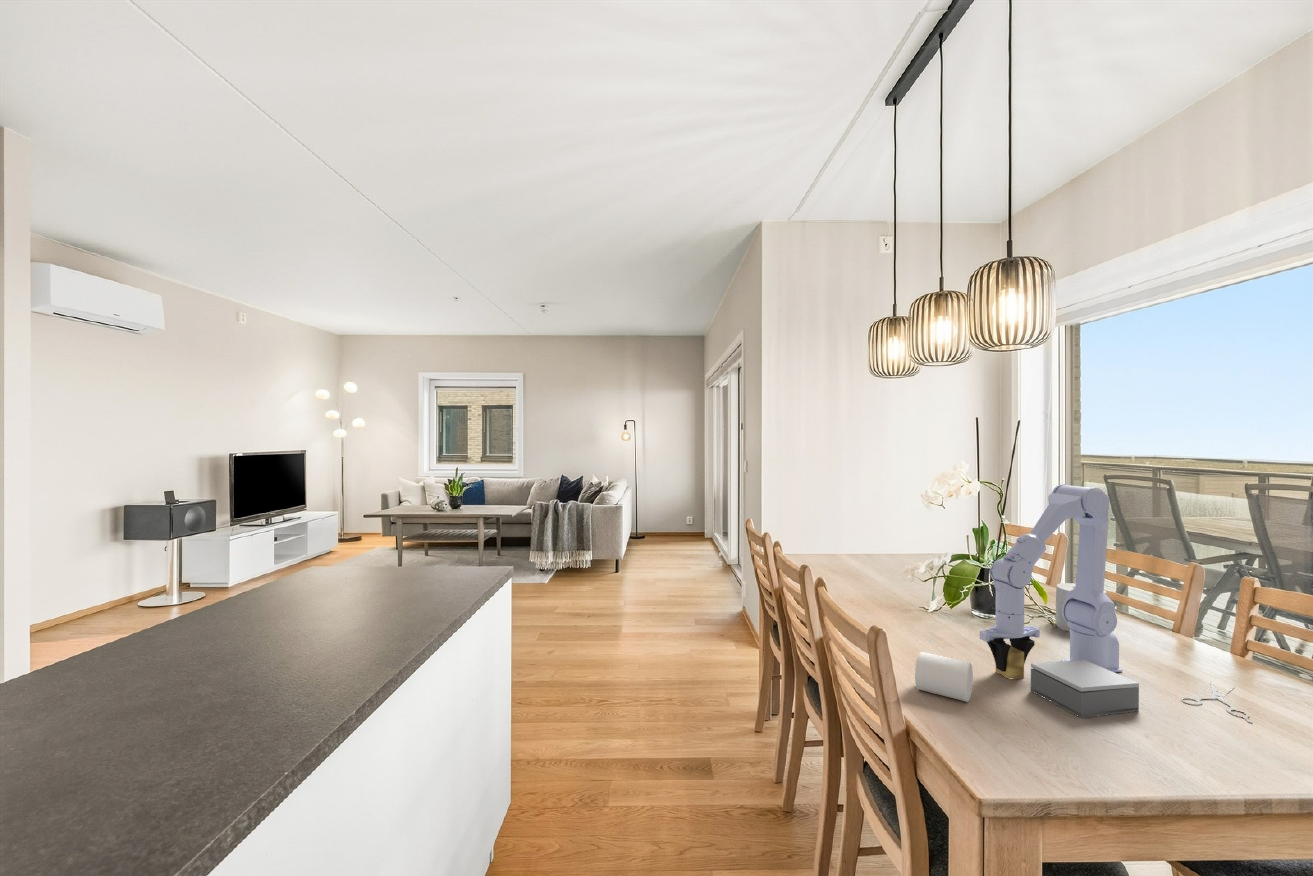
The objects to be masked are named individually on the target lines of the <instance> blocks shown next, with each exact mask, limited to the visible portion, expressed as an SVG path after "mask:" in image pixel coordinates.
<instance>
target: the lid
mask: <svg viewBox="0 0 1313 876" xmlns="http://www.w3.org/2000/svg"><path fill="white" fill-rule="evenodd" d="M1030 667H1031V668H1034V669H1036V670H1038V671H1040V672H1042V673H1044V674H1046V675H1048V676H1050V677H1052V678H1054V679H1056V680H1058V681H1060V682H1062V683H1064V684H1067V685H1069V686H1071V687H1073V688H1075V689H1077V690H1079V691H1081V692H1083V691H1095V690H1108V689H1120V688H1133V687H1139V688H1140V682H1137V681H1135V680H1133V679H1131V678H1128V677H1125V675H1124V676H1123V675H1120V674H1118V672H1112V671H1109V670H1107V669H1105V668H1102V667H1100V666H1098V665H1095V664H1093V663H1091V662H1088V661H1086V660H1074V661H1061V660H1060V661H1047V662H1034V663H1033V662H1031V663H1030Z"/></svg>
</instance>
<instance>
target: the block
mask: <svg viewBox="0 0 1313 876" xmlns="http://www.w3.org/2000/svg"><path fill="white" fill-rule="evenodd" d="M996 672H997V673H996ZM995 673H996V674H998V673H1000V674H1002V675H1003V676H1004V678H1005V677H1006V678H1005V679H1007V678H1019V679H1025V664H1024V652H1022V651H1020V650H1018V649H1016V648H1014V647H1012V646H1011V647H1010V649H1009V652H1008V656H1007V668H1006V672H1003V671H1001V670H999V669H997V667H996V666H995ZM1000 674H999V675H1000ZM1002 675H1001V676H1002ZM1003 676H1002V677H1003Z"/></svg>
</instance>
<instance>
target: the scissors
mask: <svg viewBox="0 0 1313 876" xmlns="http://www.w3.org/2000/svg"><path fill="white" fill-rule="evenodd" d="M1209 683H1210V688H1211V692H1212V691H1213V692H1212V694H1211V695H1209V696H1206V697H1199V698H1194V697H1184V696H1183V697H1181V698H1180V701H1181V700H1182V701H1183V702H1185V703H1184V704H1186V703H1187V705H1189V704H1190V706H1195V705H1198V706H1202V705H1203V702H1202V701H1203V700H1202V699H1213V700H1212V701H1218V700H1220V701H1222V702H1224V703H1225V704H1224V703H1223V704H1224V705H1226V704H1227V705H1229V706H1230V707H1229V706H1228V707H1229V708H1226V709H1225V711H1226V710H1227V711H1228V712H1229V713H1228V712H1227V711H1226V712H1227V713H1228V714H1230V713H1231V714H1230V715H1232V714H1235V712H1234V711H1231V710H1240V709H1238V708H1236V707H1234V706H1233V704H1231V703H1228V702H1226V701H1225V699H1224V697H1225V696H1227V695H1228V694H1226V695H1224V694H1222V696H1224V697H1223V698H1222V697H1220V696H1221V694H1219V693H1220V692H1219V691H1218V689H1217V688H1216V687H1215V685H1214V684H1213V683H1212V681H1211V680H1210V682H1209ZM1230 689H1231V688H1230ZM1231 690H1232V689H1231ZM1214 691H1218V692H1217V693H1216V692H1214ZM1232 691H1233V690H1232ZM1183 699H1184V700H1183ZM1188 699H1191V701H1194V700H1201V701H1199V702H1198V701H1197V702H1194V703H1193V702H1188V701H1185V700H1188ZM1182 701H1181V702H1182ZM1220 701H1219V702H1220ZM1183 702H1182V703H1183ZM1222 702H1221V703H1222ZM1201 704H1202V705H1201ZM1227 705H1226V706H1227ZM1242 711H1243V710H1242ZM1243 712H1245V714H1249V713H1248V712H1246V711H1243ZM1245 714H1244V716H1245ZM1242 716H1243V715H1241V717H1242ZM1246 717H1249V718H1250V715H1249V716H1245V717H1243V718H1244V719H1246V720H1247V719H1249V718H1246ZM1243 718H1242V719H1243ZM1244 719H1243V720H1244ZM1246 720H1245V721H1246ZM1247 721H1248V722H1250V723H1249V724H1253V721H1252V720H1250V719H1249V720H1247ZM1247 721H1246V722H1247ZM1248 722H1247V723H1248Z"/></svg>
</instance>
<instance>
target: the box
mask: <svg viewBox="0 0 1313 876" xmlns="http://www.w3.org/2000/svg"><path fill="white" fill-rule="evenodd" d="M1031 691H1033V692H1035V693H1037V694H1038V696H1039V695H1040V696H1039V697H1041V696H1043V697H1045V698H1046V699H1047V700H1046V699H1045V700H1046V701H1048V700H1051V701H1052V702H1053V703H1052V702H1051V703H1052V704H1054V703H1055V704H1056V705H1055V704H1054V705H1055V706H1057V705H1059V706H1061V707H1062V709H1063V708H1064V709H1063V710H1065V711H1067V710H1068V711H1070V712H1071V713H1070V712H1069V713H1070V714H1072V713H1073V714H1072V715H1074V714H1076V715H1078V716H1079V717H1078V716H1077V717H1078V718H1080V719H1084V718H1083V717H1087V718H1092V717H1091V716H1095V717H1098V716H1097V715H1104V716H1107V715H1106V714H1112V715H1119V714H1118V713H1121V714H1126V713H1128V712H1129V713H1135V711H1138V712H1140V705H1139V704H1140V703H1139V702H1140V686H1139V687H1133V688H1120V689H1108V690H1095V691H1083V692H1081V691H1079V690H1077V689H1075V688H1073V687H1071V686H1069V685H1067V684H1064V683H1062V682H1060V681H1058V680H1056V679H1054V678H1052V677H1050V676H1048V675H1046V674H1044V673H1042V672H1040V671H1038V670H1036V669H1034V668H1032V667H1031V668H1030V692H1031ZM1033 692H1032V693H1033ZM1035 693H1034V694H1035ZM1037 694H1036V695H1037ZM1059 706H1058V707H1059ZM1061 707H1060V708H1061ZM1068 711H1067V712H1068ZM1116 713H1117V714H1116ZM1129 713H1128V714H1129ZM1076 715H1075V716H1076Z"/></svg>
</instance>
